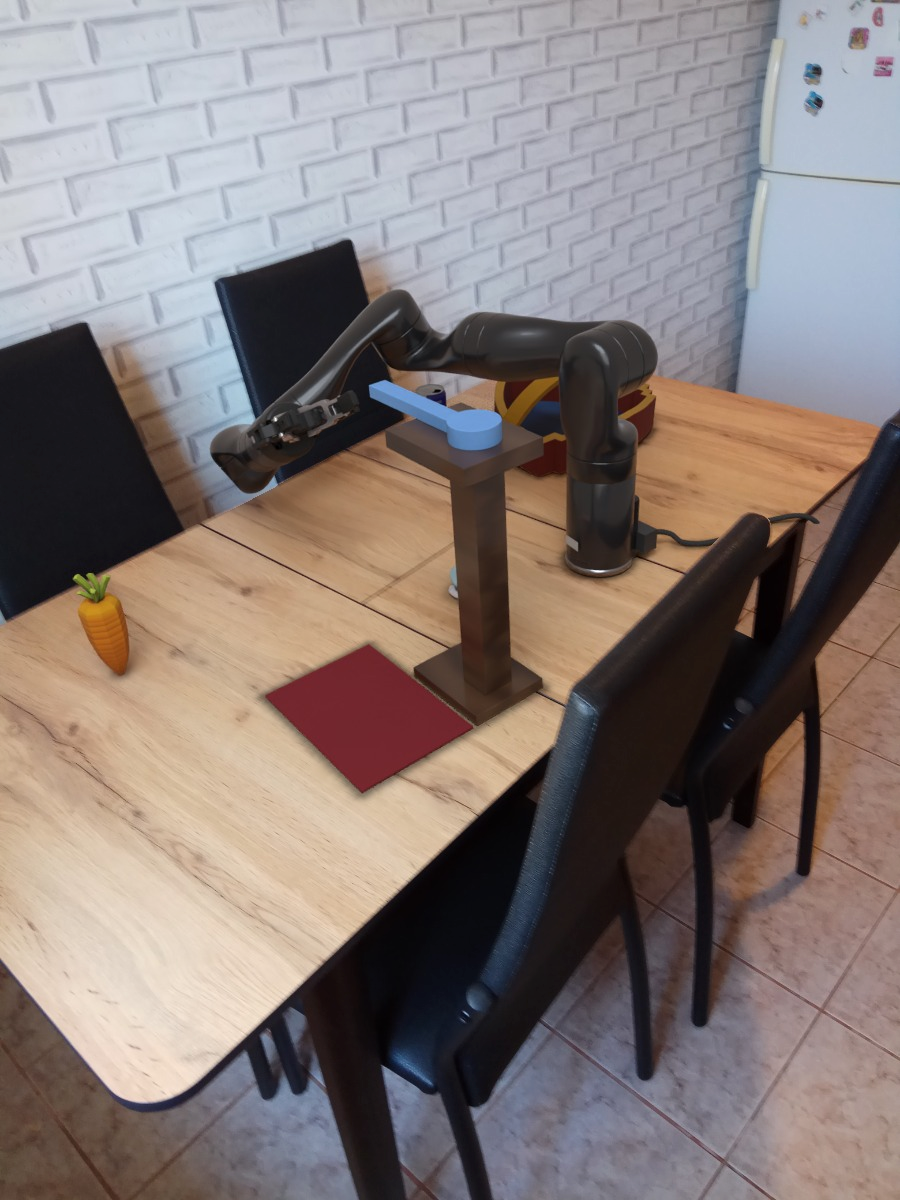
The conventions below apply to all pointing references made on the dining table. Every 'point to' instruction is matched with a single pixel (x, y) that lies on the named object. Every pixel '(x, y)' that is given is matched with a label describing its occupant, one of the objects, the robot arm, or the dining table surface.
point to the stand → (475, 567)
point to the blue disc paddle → (444, 417)
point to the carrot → (104, 622)
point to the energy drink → (433, 393)
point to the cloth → (367, 716)
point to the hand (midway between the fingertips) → (324, 408)
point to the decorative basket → (540, 414)
